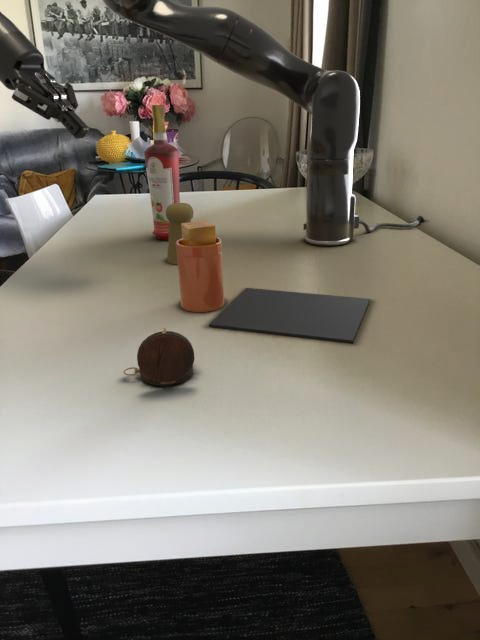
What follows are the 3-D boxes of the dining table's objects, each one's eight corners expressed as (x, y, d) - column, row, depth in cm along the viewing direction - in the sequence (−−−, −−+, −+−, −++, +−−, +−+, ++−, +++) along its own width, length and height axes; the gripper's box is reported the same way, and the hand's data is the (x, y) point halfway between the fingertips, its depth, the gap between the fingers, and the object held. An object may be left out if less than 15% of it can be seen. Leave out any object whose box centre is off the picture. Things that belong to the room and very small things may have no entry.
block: (208, 246, 87) (206, 220, 85) (216, 252, 83) (215, 225, 82) (182, 249, 85) (180, 223, 84) (190, 255, 82) (188, 228, 80)
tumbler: (215, 294, 91) (213, 233, 88) (230, 308, 86) (227, 243, 82) (175, 300, 89) (171, 238, 85) (187, 315, 83) (183, 249, 80)
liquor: (145, 240, 126) (133, 105, 115) (162, 232, 132) (151, 104, 121) (175, 242, 123) (164, 105, 112) (190, 234, 129) (181, 103, 119)
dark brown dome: (190, 360, 69) (186, 304, 67) (197, 391, 62) (193, 330, 59) (124, 366, 68) (117, 310, 66) (123, 399, 61) (115, 338, 58)
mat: (209, 326, 79) (208, 324, 79) (246, 290, 93) (246, 287, 93) (352, 343, 73) (352, 340, 72) (369, 301, 86) (370, 298, 86)
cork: (193, 265, 107) (189, 206, 103) (163, 264, 108) (158, 206, 104) (202, 256, 112) (198, 200, 108) (172, 255, 114) (168, 200, 109)
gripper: (22, 70, 94) (95, 147, 95) (-39, 68, 82) (44, 156, 83) (44, 32, 90) (119, 113, 91) (-17, 25, 79) (69, 118, 79)
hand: (83, 134), depth 87 cm, fingers closed
